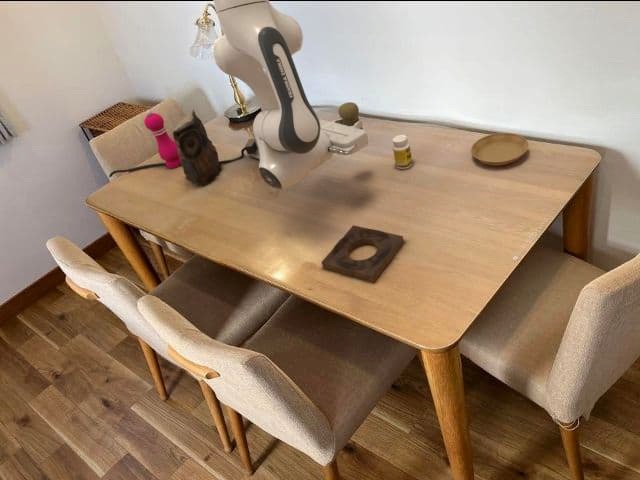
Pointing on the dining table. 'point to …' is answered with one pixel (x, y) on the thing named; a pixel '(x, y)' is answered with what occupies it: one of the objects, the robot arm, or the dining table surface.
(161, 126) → the pepper mill
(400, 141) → the supplement bottle
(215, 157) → the owl
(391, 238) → the holder
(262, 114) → the robot arm
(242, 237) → the dining table surface
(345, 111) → the pepper shaker
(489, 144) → the plant saucer
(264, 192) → the dining table surface
